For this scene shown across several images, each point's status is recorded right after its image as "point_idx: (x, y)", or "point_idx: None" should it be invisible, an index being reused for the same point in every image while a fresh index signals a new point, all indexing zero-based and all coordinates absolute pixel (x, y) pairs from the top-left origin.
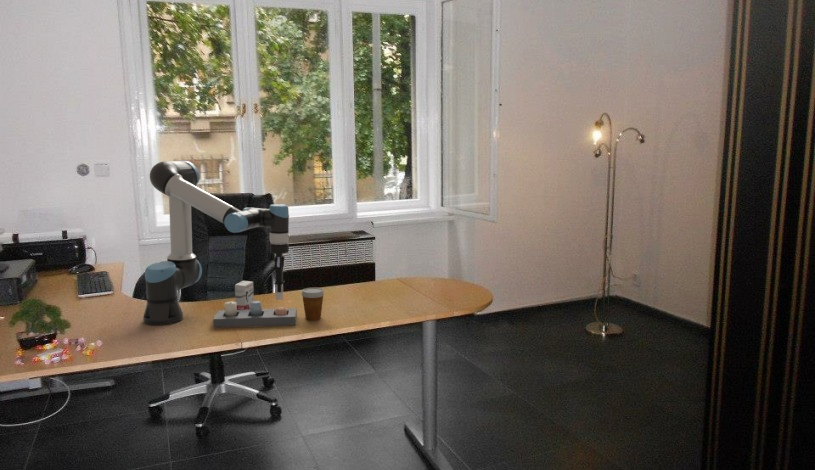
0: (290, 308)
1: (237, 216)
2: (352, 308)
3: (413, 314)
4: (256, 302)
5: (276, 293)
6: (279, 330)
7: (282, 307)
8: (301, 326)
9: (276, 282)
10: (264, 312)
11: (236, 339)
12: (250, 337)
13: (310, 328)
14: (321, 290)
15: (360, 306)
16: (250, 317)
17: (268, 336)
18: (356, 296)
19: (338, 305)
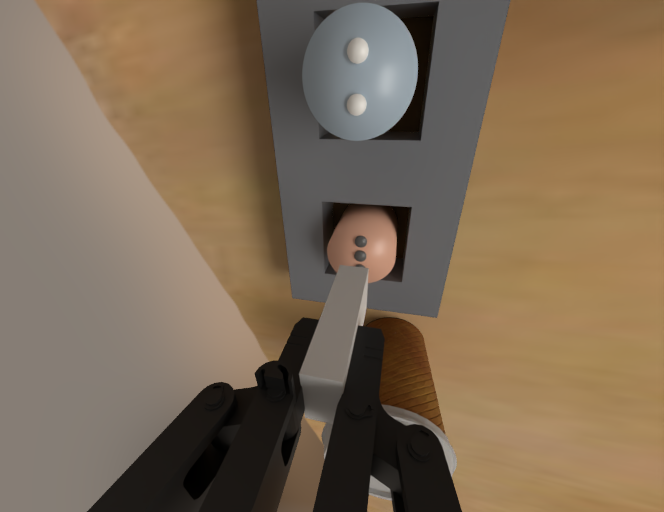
0: (440, 292)
1: None
2: (477, 449)
3: (374, 505)
4: (355, 87)
5: (327, 300)
6: (237, 215)
7: (391, 264)
8: (288, 293)
9: (194, 406)
10: (387, 144)
11: (79, 4)
12: (127, 85)
13: (267, 315)
14: (387, 490)
15: (493, 468)
16: (275, 46)
17: (161, 172)
18: (652, 501)
19: (542, 433)
